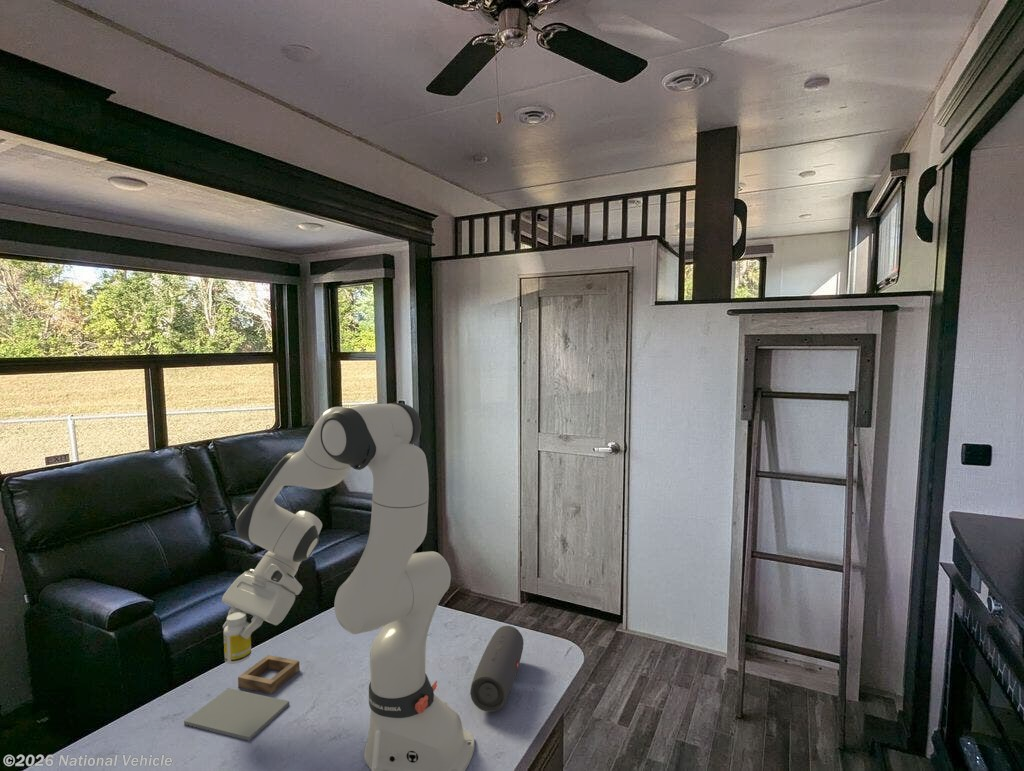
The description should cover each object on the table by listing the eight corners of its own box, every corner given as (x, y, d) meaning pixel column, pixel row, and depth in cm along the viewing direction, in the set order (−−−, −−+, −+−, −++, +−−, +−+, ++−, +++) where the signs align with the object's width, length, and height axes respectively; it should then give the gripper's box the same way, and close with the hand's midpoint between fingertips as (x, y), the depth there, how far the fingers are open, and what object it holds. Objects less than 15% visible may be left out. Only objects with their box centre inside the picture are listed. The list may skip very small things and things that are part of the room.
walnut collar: (299, 670, 133) (299, 660, 133) (271, 694, 124) (270, 683, 124) (268, 664, 136) (268, 654, 136) (238, 686, 127) (237, 677, 127)
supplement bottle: (256, 653, 118) (255, 611, 118) (238, 666, 113) (236, 623, 113) (237, 650, 120) (236, 609, 120) (218, 663, 115) (216, 620, 114)
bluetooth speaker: (508, 720, 114) (508, 676, 113) (468, 715, 116) (467, 672, 115) (526, 661, 136) (525, 625, 136) (492, 658, 138) (491, 621, 137)
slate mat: (289, 704, 120) (289, 701, 120) (249, 740, 108) (249, 737, 108) (228, 691, 125) (228, 688, 125) (184, 724, 114) (184, 721, 114)
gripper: (239, 561, 127) (199, 616, 119) (289, 578, 116) (249, 640, 109) (256, 573, 131) (220, 627, 123) (307, 590, 120) (270, 650, 112)
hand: (234, 633), depth 116 cm, fingers closed on supplement bottle, 5 cm apart
